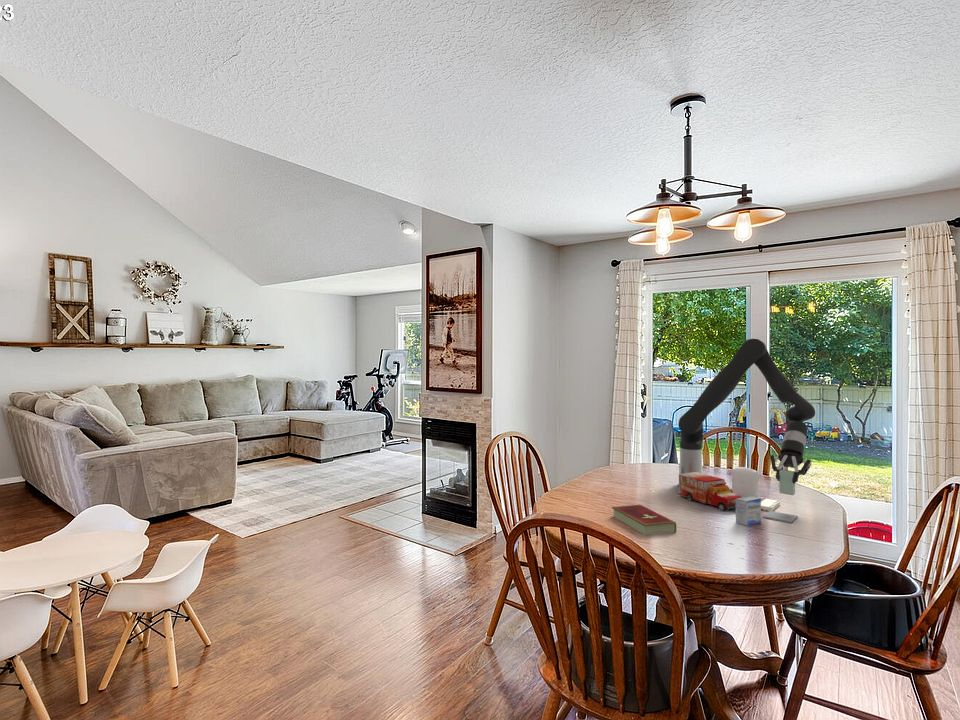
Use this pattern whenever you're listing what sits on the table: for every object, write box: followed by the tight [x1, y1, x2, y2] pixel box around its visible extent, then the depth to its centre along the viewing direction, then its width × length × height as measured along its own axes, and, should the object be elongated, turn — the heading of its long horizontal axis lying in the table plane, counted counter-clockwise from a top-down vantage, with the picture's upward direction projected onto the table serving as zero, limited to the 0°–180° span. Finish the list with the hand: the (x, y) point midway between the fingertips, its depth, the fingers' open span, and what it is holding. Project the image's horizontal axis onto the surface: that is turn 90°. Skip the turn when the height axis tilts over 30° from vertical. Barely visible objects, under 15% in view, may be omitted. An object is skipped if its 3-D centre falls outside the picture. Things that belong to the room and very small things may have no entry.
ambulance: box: [677, 472, 743, 512], centre depth 200 cm, size 11×25×10 cm, turn 22°
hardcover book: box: [611, 504, 677, 536], centre depth 174 cm, size 12×21×4 cm, turn 14°
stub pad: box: [762, 510, 799, 524], centre depth 181 cm, size 9×9×1 cm
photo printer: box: [731, 466, 760, 498], centre depth 208 cm, size 10×4×12 cm, turn 39°
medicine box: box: [735, 496, 762, 527], centre depth 175 cm, size 8×4×9 cm, turn 117°
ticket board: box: [761, 498, 781, 512], centre depth 194 cm, size 5×12×2 cm, turn 136°
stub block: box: [778, 469, 796, 496], centre depth 188 cm, size 4×3×8 cm, turn 46°
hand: (786, 480), depth 187 cm, fingers closed on stub block, 4 cm apart
